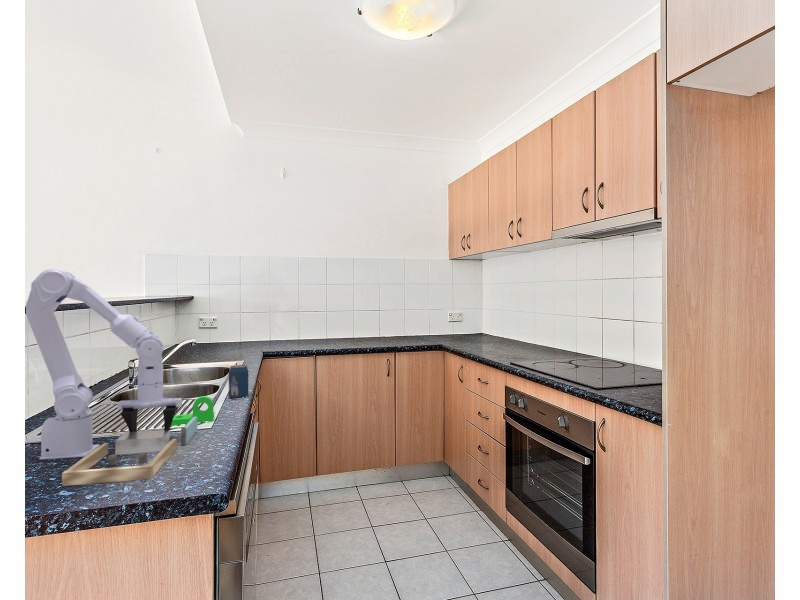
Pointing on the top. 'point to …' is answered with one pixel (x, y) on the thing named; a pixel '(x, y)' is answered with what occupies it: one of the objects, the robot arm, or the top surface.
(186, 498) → the top surface
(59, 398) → the robot arm
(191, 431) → the bar
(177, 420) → the mechanical part
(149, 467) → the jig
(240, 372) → the dark blue carton
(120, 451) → the block
